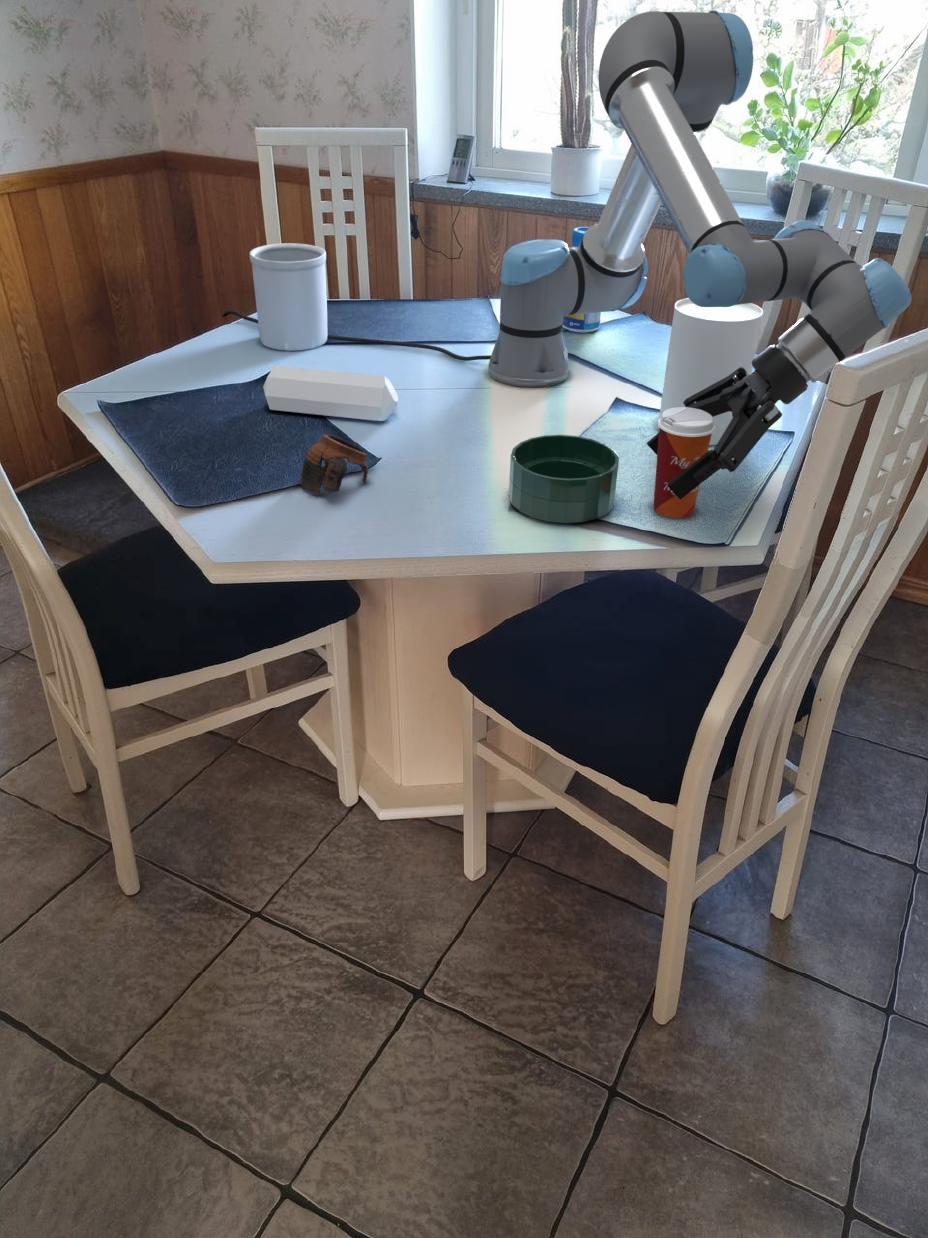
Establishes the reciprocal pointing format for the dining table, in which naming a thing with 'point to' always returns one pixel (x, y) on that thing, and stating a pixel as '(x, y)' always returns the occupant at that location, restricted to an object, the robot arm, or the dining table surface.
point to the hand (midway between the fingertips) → (662, 470)
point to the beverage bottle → (588, 320)
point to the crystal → (330, 393)
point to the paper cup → (679, 456)
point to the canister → (708, 351)
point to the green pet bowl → (563, 478)
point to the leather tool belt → (330, 464)
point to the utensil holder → (290, 295)
